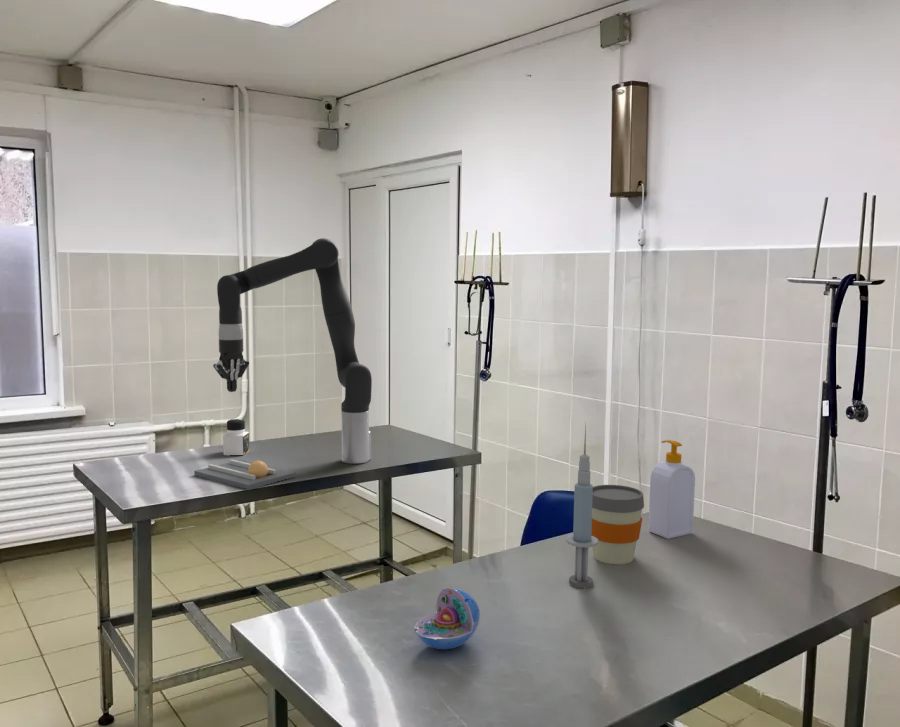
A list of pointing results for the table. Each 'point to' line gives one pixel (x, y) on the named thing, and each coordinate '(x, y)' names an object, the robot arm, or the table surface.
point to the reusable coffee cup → (616, 522)
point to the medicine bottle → (235, 438)
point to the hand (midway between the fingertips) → (232, 391)
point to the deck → (241, 474)
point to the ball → (258, 469)
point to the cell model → (450, 620)
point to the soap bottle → (671, 496)
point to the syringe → (582, 523)
